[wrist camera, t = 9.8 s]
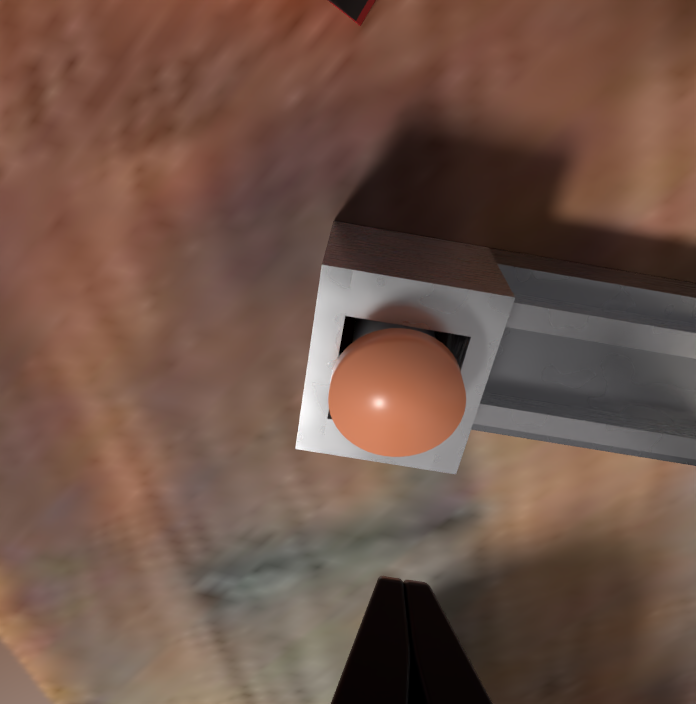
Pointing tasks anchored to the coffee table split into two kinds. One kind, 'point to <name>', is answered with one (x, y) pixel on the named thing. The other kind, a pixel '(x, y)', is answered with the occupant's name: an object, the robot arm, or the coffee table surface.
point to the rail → (516, 344)
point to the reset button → (396, 390)
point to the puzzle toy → (354, 8)
